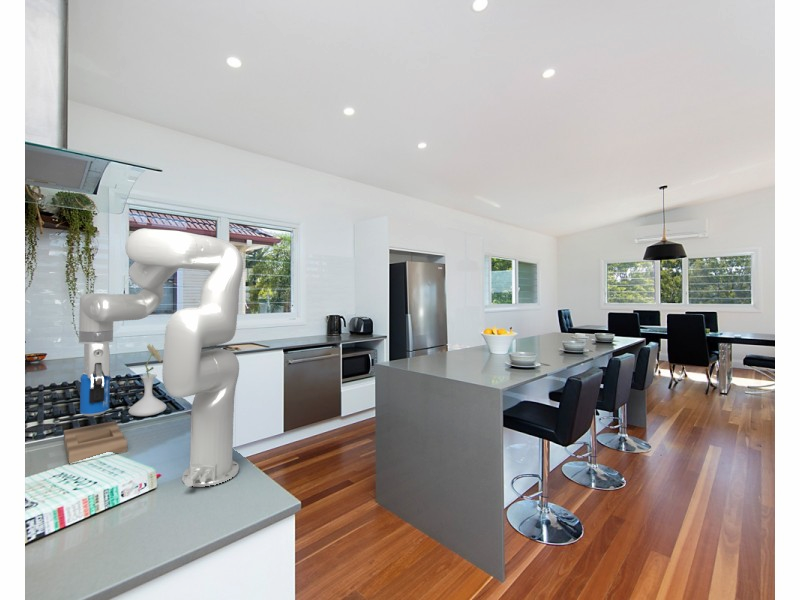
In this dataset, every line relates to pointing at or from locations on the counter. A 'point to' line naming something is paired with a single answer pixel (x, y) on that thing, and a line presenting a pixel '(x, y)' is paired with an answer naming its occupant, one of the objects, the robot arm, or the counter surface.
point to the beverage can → (85, 406)
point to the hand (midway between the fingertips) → (95, 398)
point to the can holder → (93, 441)
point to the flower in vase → (148, 392)
